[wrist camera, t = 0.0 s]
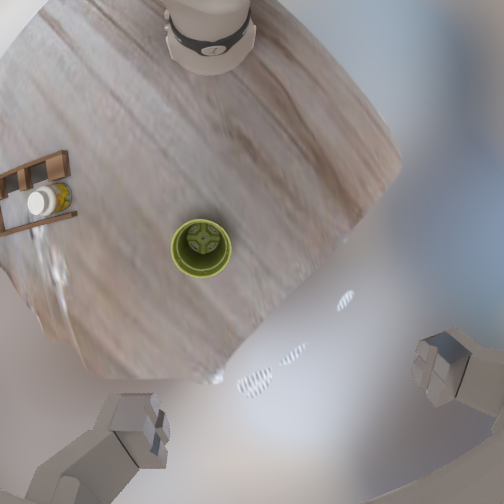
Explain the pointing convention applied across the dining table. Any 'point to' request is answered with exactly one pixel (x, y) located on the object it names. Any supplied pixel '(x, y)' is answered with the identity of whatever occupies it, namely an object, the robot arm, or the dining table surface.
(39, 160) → the frame
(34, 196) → the supplement bottle
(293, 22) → the dining table surface
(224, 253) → the plant pot
